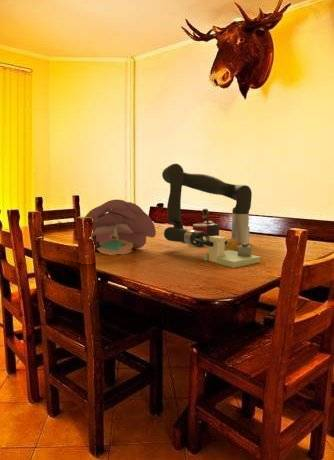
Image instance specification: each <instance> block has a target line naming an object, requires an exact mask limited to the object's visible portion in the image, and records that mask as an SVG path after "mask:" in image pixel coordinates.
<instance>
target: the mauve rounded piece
mask: <svg viewBox="0 0 334 460" xmlns="http://www.w3.org/2000/svg"><path fill="white" fill-rule="evenodd" d="M85 217H91V218H92V219H93V233H92V239H93V242H94V245H95V250H94V251H96V250H97V251H98V252H99V253H101V254H103V255H107V254H108V255H107V256H117V255H116V254H121V255H125V254H129V253H132V252H133V248H137V249H140V248H143V247H144V246H145V244H146V243H147V237H148V238H151V239H152V238H155V237H156V235H157V231H156V226H155V224H154V222H153V220H152V218H151V217H150V215H148V214H147V213H146V212H145V211H144V209H143V208H141V207H140V206H139V205H138V204H136V203H133V202H131V201H130V202H129V201H125V200H122V199H111V200H108V201H106V202H103V204H101V205H99V206H96V207H94V208H91V210H90V211H88V213H87V214H86V215H85V216H84V218H85Z"/></svg>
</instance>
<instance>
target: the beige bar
mask: <svg viewBox="0 0 334 460" xmlns="http://www.w3.org/2000/svg"><path fill="white" fill-rule="evenodd" d="M227 239H228V238H227V237H226V236H220V235H219V236H210V240H209V241H212V242H213V247H210V246H208V254H209V260H208V261H209V262H212V263H216V264H218V263H217V258H218V257H223V256H224V247H225V241H226V240H227Z"/></svg>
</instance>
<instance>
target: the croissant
mask: <svg viewBox="0 0 334 460" xmlns="http://www.w3.org/2000/svg"><path fill="white" fill-rule="evenodd" d="M242 244H243V243H240V242H239V241H236V240H235V239H232V237H231V238H230V237H229V238H227V245H225V247H224V251H227V250H232V251H236V252H238V246H240V245H242ZM247 246H249V244H247Z"/></svg>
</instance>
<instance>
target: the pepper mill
mask: <svg viewBox="0 0 334 460" xmlns="http://www.w3.org/2000/svg"><path fill="white" fill-rule="evenodd" d="M201 212H202V213H203V215H202V218H206V220H205V221H202V222H201V223H199V224H206V225H207V236H220V224H219V223H218V224H217V223H216V222H214V221H213V220H209V219H210V218H209V216H210V213H209V209H208V208H203V209H202V210H201Z"/></svg>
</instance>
